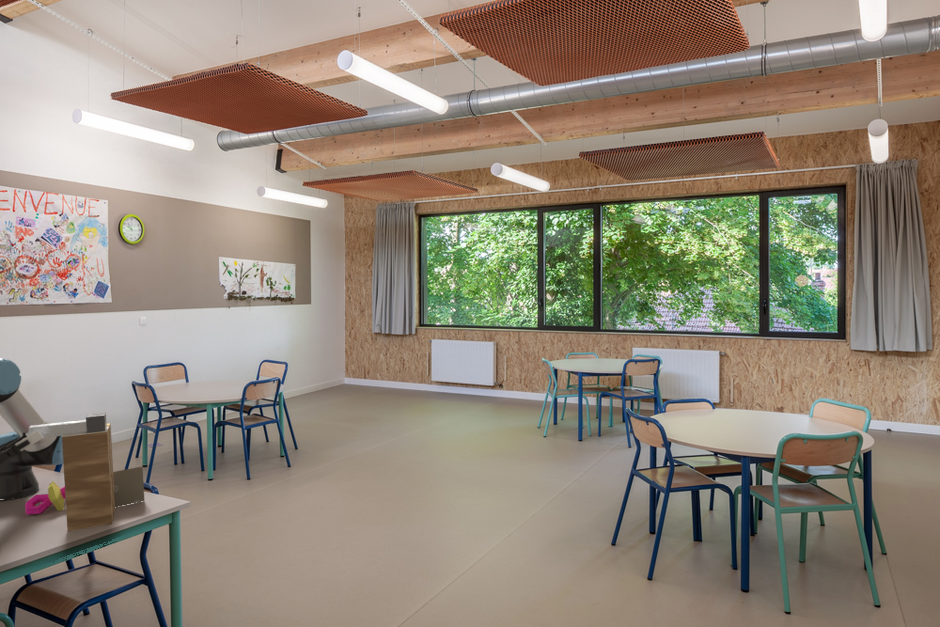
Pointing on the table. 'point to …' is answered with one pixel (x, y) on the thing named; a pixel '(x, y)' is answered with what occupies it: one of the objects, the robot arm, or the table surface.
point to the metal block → (72, 426)
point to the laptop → (128, 486)
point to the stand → (88, 479)
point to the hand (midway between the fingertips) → (45, 429)
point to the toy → (46, 500)
